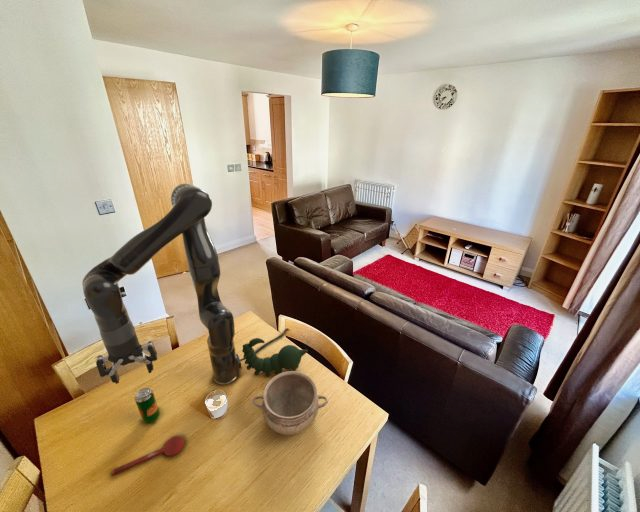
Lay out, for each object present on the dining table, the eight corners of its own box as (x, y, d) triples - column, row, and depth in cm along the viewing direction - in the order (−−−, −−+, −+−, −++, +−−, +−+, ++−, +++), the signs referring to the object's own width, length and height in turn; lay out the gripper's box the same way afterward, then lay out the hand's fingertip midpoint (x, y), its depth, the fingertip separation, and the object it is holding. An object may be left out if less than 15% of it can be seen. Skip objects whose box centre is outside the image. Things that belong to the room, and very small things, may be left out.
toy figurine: (248, 386, 107) (311, 374, 110) (239, 350, 98) (307, 338, 102) (249, 367, 115) (308, 356, 118) (241, 333, 107) (304, 322, 110)
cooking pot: (248, 445, 85) (245, 421, 80) (259, 392, 103) (257, 369, 97) (328, 445, 86) (329, 420, 81) (325, 392, 103) (327, 369, 98)
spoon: (183, 434, 88) (182, 431, 87) (184, 450, 84) (184, 448, 83) (113, 464, 80) (112, 462, 79) (111, 484, 75) (110, 482, 75)
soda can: (152, 425, 90) (143, 401, 85) (139, 422, 91) (129, 398, 86) (163, 411, 95) (155, 388, 89) (151, 408, 95) (142, 385, 90)
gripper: (85, 353, 71) (104, 395, 78) (148, 335, 77) (160, 376, 84) (90, 335, 77) (108, 375, 84) (148, 320, 83) (160, 359, 90)
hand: (134, 376), depth 84 cm, fingers open, 8 cm apart
